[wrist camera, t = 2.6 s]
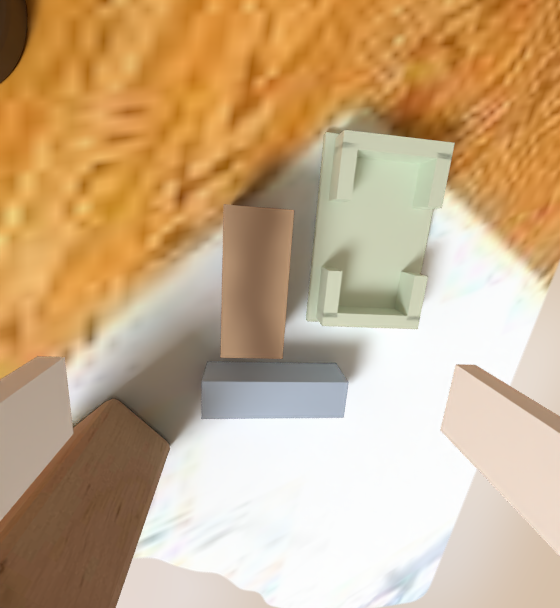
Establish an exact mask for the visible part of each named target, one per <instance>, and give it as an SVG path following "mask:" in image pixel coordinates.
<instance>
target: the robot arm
mask: <svg viewBox="0 0 560 608" xmlns="http://www.w3.org/2000/svg"><path fill="white" fill-rule="evenodd" d="M26 32H27V10H26V2H25V0H0V83H1V82H2V81H3V80H4V79H5V78H6V77H7V76H8V75H9V74H10V73H11V71H12V70H13V69H14V67H15V65H16V64H17V62H18V60H19V58H20V56H21V53H22V50H23V47H24V43H25V39H26ZM440 430H441V431H442V432H443V434H444V435H445V436H446V437H447V438H448V439H449V440H450V441H451V442H452V443H453V444H454V445H455V446H456V447H457V448H458V449H459V450H460V451H461V453H462V454H463V455H464V456H465V457H466V458H467V459H468V460H469V461H470V462H471V463H472V464H473V465H474V466H475V467H476V468H477V469H478V471H479V472H480V473H481V474H482V475H483V476H484V477H485V478H486V479H487V480H488V481H489V482H490V483H491V484H492V485H493V486H494V487H495V488H496V489H497V491H498V492H499V493H500V494H501V495H502V496H503V497H504V498H505V499H506V500H507V501H508V502H509V503H510V504H511V505H512V506H513V507H514V509H515V510H516V511H517V512H518V513H519V514H520V515H521V516H522V517H523V518H524V519H525V520H526V521H527V522H528V523H529V524H530V525H531V526H532V527H533V529H534V530H535V531H536V532H537V533H538V534H539V535H540V536H541V537H542V538H543V539H544V540H545V541H546V542H547V543H548V544H549V545H550V546H551V548H552V549H553V550H554V551H555V552H556V553H557V554H558V555H559V556H560V416H558V415H556V414H555V413H553V412H552V411H550V410H548V409H547V408H545V407H543V406H542V405H540V404H539V403H537V402H535V401H534V400H532V399H530V398H529V397H527V396H525V395H524V394H522V393H520V392H519V391H517V390H515V389H514V388H512V387H511V386H509V385H507V384H506V383H504V382H502V381H501V380H499V379H497V378H496V377H494V376H493V375H491V374H489V373H488V372H486V371H484V370H483V369H481V368H479V367H478V366H476V365H456V366H455V370H454V374H453V379H452V383H451V387H450V391H449V396H448V400H447V404H446V408H445V412H444V417H443V421H442V425H441V429H440ZM72 435H73V425H72V417H71V408H70V399H69V391H68V382H67V373H66V365H65V357H44V356H37V357H36V358H34V359H33V360H31V361H29V362H28V363H26V364H24V365H23V366H21V367H20V368H18V369H16V370H15V371H13V372H12V373H10V374H8V375H7V376H5V377H4V378H2V379H0V521H1V520H2V519H3V517H4V516H5V515H6V514H7V513H8V511H9V510H10V509H11V508H12V507H13V505H14V504H15V503H16V502H17V501H18V499H19V498H20V497H21V496H22V495H23V494H24V492H25V491H26V490H27V489H28V488H29V486H30V485H31V484H32V483H33V482H34V480H35V479H36V478H37V477H38V476H39V474H40V473H41V472H42V471H43V470H44V468H45V467H46V466H47V465H48V464H49V462H50V461H51V460H52V459H53V458H54V456H55V455H56V454H57V453H58V452H59V450H60V449H61V448H62V447H63V446H64V444H65V443H66V442H67V441H68V440H69V438H70V437H71V436H72Z"/></svg>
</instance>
